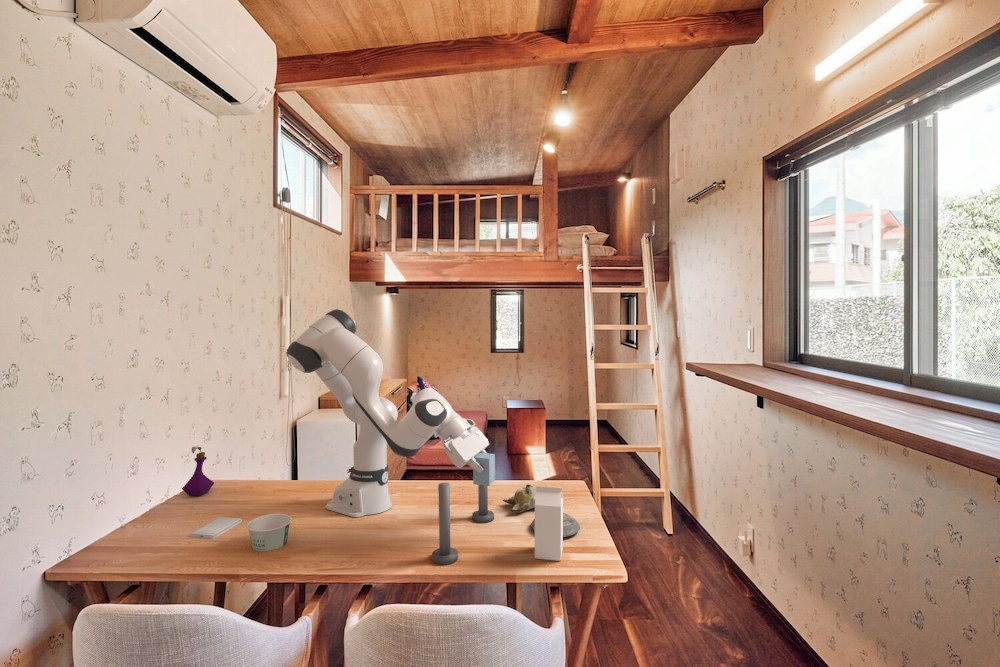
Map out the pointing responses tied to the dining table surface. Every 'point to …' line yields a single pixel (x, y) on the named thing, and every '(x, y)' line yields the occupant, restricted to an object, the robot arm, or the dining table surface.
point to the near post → (444, 529)
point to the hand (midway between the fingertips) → (486, 467)
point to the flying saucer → (566, 525)
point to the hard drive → (216, 527)
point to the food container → (269, 531)
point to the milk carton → (548, 523)
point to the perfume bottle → (198, 477)
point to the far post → (483, 506)
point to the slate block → (485, 469)
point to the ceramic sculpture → (523, 499)
